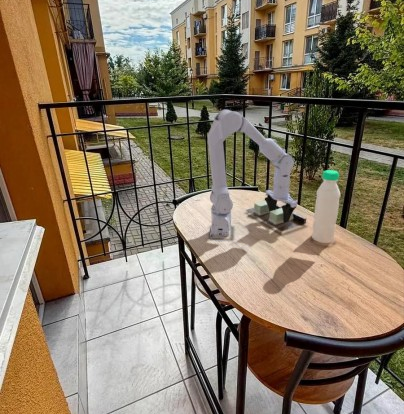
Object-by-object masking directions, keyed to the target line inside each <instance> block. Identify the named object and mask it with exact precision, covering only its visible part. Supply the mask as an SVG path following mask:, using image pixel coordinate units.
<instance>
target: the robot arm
mask: <svg viewBox="0 0 404 414" xmlns="http://www.w3.org/2000/svg"><path fill="white" fill-rule="evenodd" d="M236 132H240V133H244V134H245V135H246V136H247V137H248V138H250V139H251V140H253V142H254V143H255V144H257V146H258V149H259V152H260V153H261V154H262V155H264V157H266V158H267V159H268V160H269V161H270V162H271V164H272V165H273V181H272V182H273V183H272V190H271V189H267V190H265V196H266V197H264V201H266V203H267V205H268V208H269V213H270V211H273V210H276V205H278V202H281V203H284V205H283V204H282V205H280V206H281V207H282V210H283V221H284V222H285V223H286V222H289V219H290V217H291V214H292V212H294V211H295V210H296V208H297V206H298V205H297V204H298V201H297V200H294V199H293V198H292V197H291V194H290V181H291V180H290V179H291V171H292V169H293V168H294V166H295V161H294V158H293V156H292V155H290V154H288V153H286V149H285V148H282V147H281V146H280V145H278V141H277V140H276V139H275V138H271V137H270V138H266V137H265V136H264V135H263V134H262V133H261V132H260V131H259V130H258V129H257V128H256V127H255V126H254V125H253V124H252V122H250V121H249V120H248V119H247V117H244V116H242V115H241V114H240V113H239V112H238V111H232V110H230V109H222V110H221V111H219V112H218V113H217V114H216V115H215V116H214V118H213V122H212V125H211V126H210V129H209V131H208V134H207V145H208V146H207V148H208V156H209V164H210V173H211V174H210V175H211V184H212V186H211V192H210V194H209V200H210V202H211V203H212V205H211V208H210V211H211V212H210V214H211V215H210V217H211V228H210V233H209V239H213V240H214V239H216V240H220V238H219V237H229V236H230V232H231V230H232V210H233V206H234V203H233V201H232V199H231V197H230V192H229V188H228V184H227V173H226V161H225V160H226V159H225V150H224V141H226V139H227V138H228V137H229V136H231V135H232V134H234V133H236ZM215 236H216V237H215ZM218 236H219V237H218Z"/></svg>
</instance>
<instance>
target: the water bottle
mask: <svg viewBox="0 0 404 414" xmlns="http://www.w3.org/2000/svg"><path fill="white" fill-rule="evenodd" d="M321 178H322V182H321V184H320V186H319V187H318V188H317V190H316V198H315V205H314V213H313V214H314V215H313V216H314V217H313V223H312V232H311V238H312V239H313V240H314V241H316V242H318V243H322V244H330V243H331V245H333V244H334V241H335V234H336V233H335V232H336V229H337V225H336V223H337V220H338V214H339V208H340V198H341V191H340V188H339V184H338V181H339V179H340V173H339V172H338V171H337V170H332V169H327V170H324V171H323V172H322V176H321Z"/></svg>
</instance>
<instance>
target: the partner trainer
mask: <svg viewBox="0 0 404 414" xmlns="http://www.w3.org/2000/svg"><path fill="white" fill-rule="evenodd" d="M253 205H254V206H253V208H254V210H253V212H254V213H256V214H258V215H259V216H260V215H263V214H266V213H269V208H268V205H267V203H266V201H265V200H261V201H258V202H254V204H253Z"/></svg>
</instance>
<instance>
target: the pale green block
mask: <svg viewBox="0 0 404 414" xmlns="http://www.w3.org/2000/svg"><path fill="white" fill-rule="evenodd" d="M292 219H293V213H292V214H291V217H290V219H289V220H292ZM269 221H270V222H272V223H273V224H275V225H276V224H280V223H283V222H284V221H283V210H282V208H280V209H276V210H273V211H270V218H269Z"/></svg>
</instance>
